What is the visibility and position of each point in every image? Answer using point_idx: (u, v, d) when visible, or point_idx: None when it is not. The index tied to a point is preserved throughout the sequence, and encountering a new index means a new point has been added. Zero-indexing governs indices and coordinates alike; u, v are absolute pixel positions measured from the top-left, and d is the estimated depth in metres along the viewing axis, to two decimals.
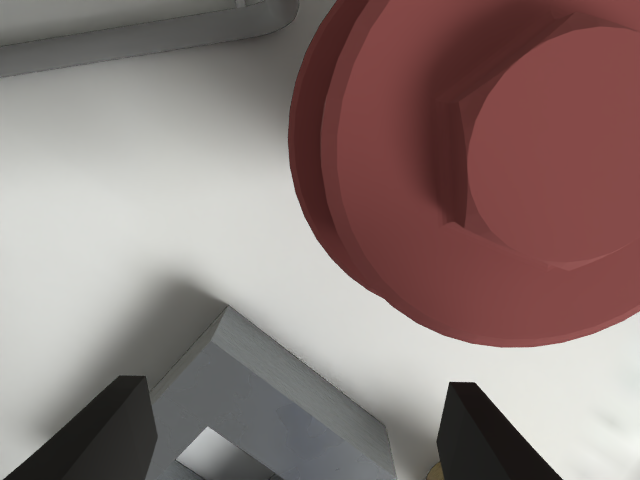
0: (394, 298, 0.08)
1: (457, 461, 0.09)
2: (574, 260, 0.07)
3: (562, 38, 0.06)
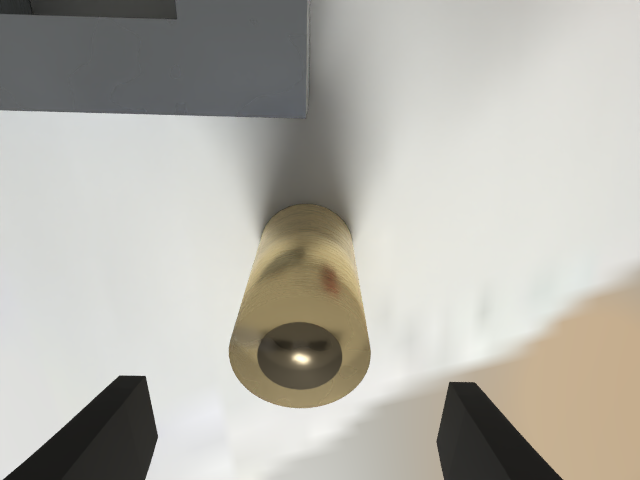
0: None
1: (457, 461, 0.09)
2: None
3: None
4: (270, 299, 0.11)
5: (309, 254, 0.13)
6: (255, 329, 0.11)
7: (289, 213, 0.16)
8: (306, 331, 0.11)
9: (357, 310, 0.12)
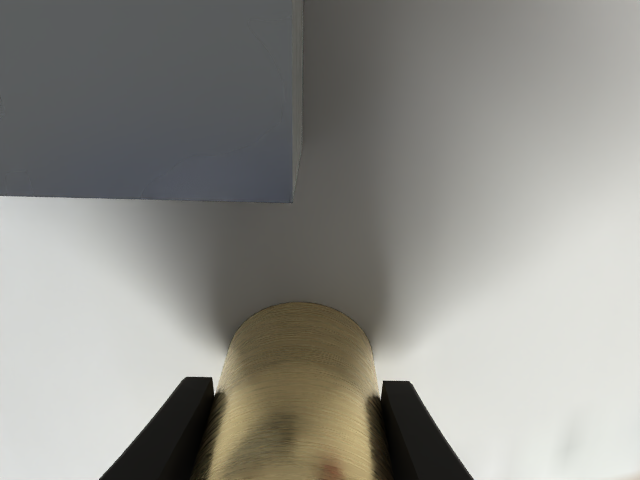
0: None
1: None
2: None
3: None
4: None
5: (301, 466, 0.06)
6: None
7: (271, 324, 0.10)
8: None
9: None
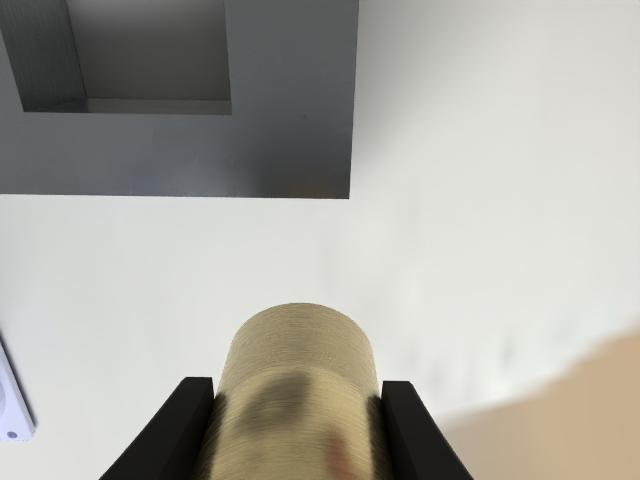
0: None
1: None
2: None
3: None
4: None
5: (301, 466, 0.06)
6: None
7: (271, 324, 0.10)
8: None
9: None
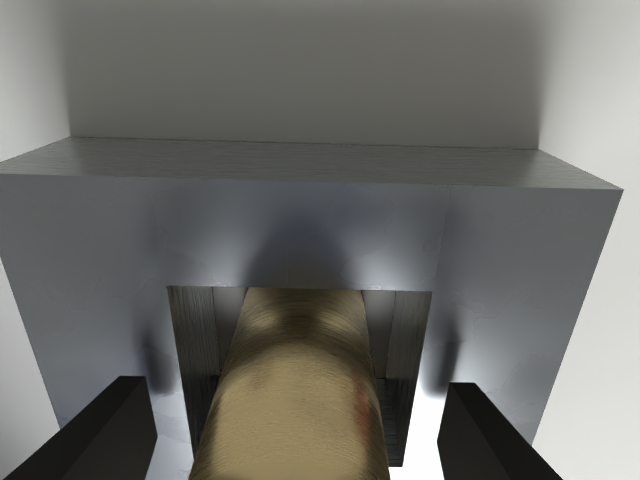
0: None
1: (457, 461, 0.09)
2: None
3: None
4: (232, 462, 0.07)
5: (299, 355, 0.09)
6: None
7: None
8: None
9: (374, 460, 0.07)
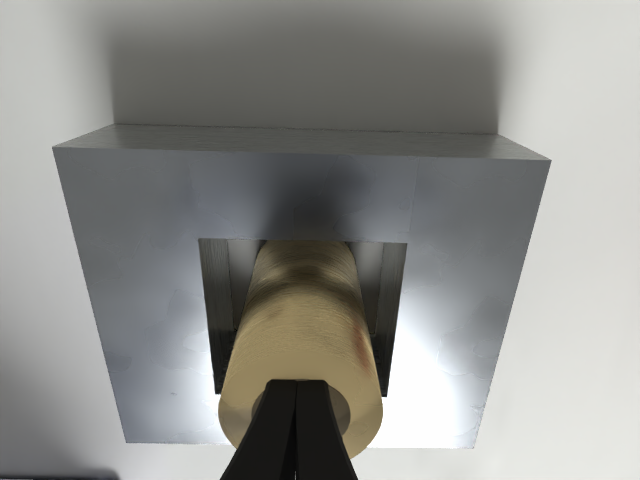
0: None
1: None
2: None
3: None
4: (260, 355, 0.09)
5: (305, 290, 0.11)
6: (246, 389, 0.10)
7: None
8: None
9: (364, 357, 0.10)
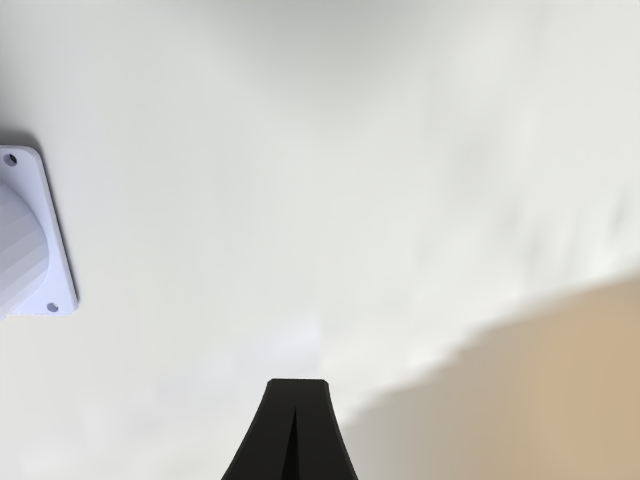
0: None
1: (296, 458, 0.09)
2: None
3: None
4: None
5: None
6: None
7: None
8: None
9: None
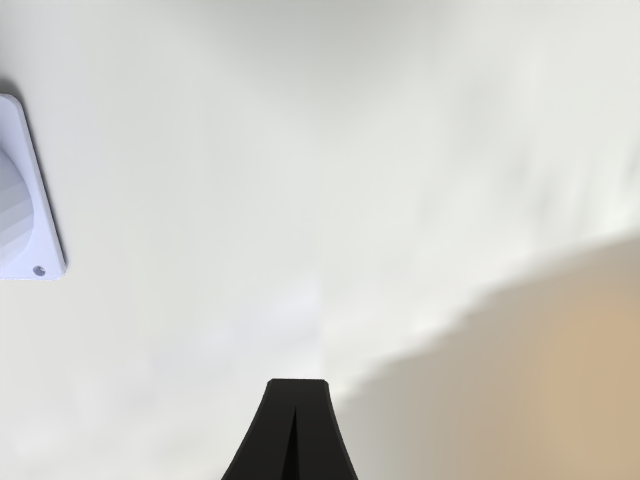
0: None
1: (296, 458, 0.09)
2: None
3: None
4: None
5: None
6: None
7: None
8: None
9: None
